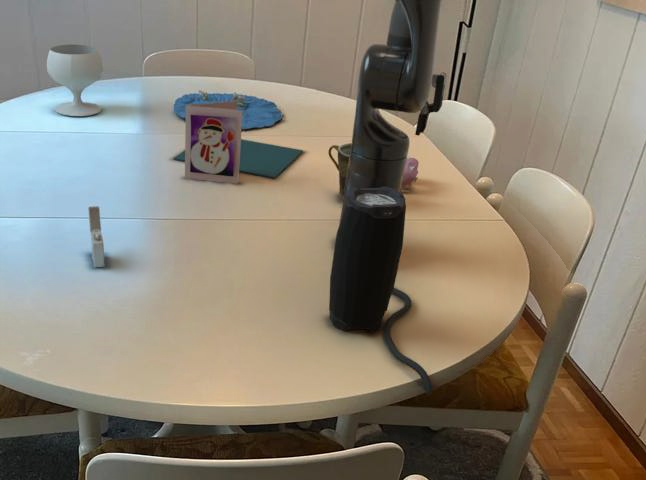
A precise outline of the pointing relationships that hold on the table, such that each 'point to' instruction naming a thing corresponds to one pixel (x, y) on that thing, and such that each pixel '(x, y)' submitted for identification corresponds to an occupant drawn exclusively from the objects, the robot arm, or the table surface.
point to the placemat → (261, 158)
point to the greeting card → (213, 142)
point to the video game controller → (410, 172)
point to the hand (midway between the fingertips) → (394, 130)
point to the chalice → (75, 75)
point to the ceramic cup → (341, 164)
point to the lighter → (96, 237)
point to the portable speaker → (366, 257)
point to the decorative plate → (252, 107)
